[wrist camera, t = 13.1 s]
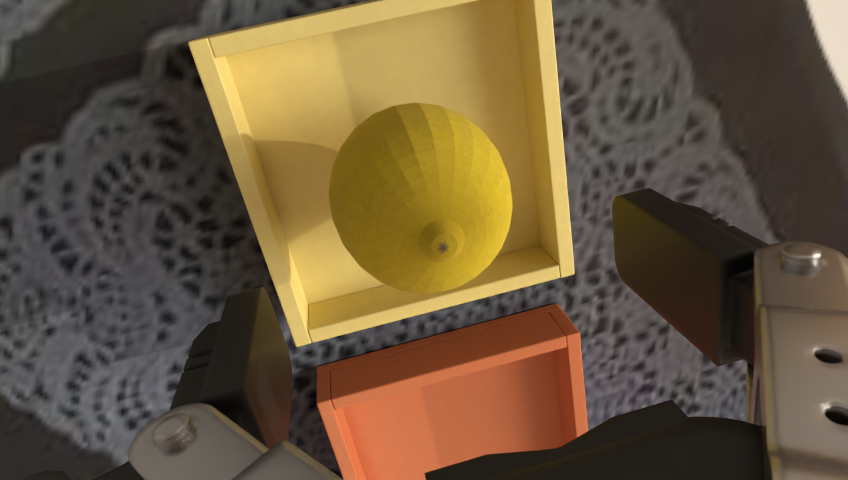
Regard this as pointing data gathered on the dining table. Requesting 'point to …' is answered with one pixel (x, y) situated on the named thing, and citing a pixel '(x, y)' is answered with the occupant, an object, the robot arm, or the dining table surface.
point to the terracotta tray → (456, 397)
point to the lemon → (420, 198)
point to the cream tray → (356, 101)
